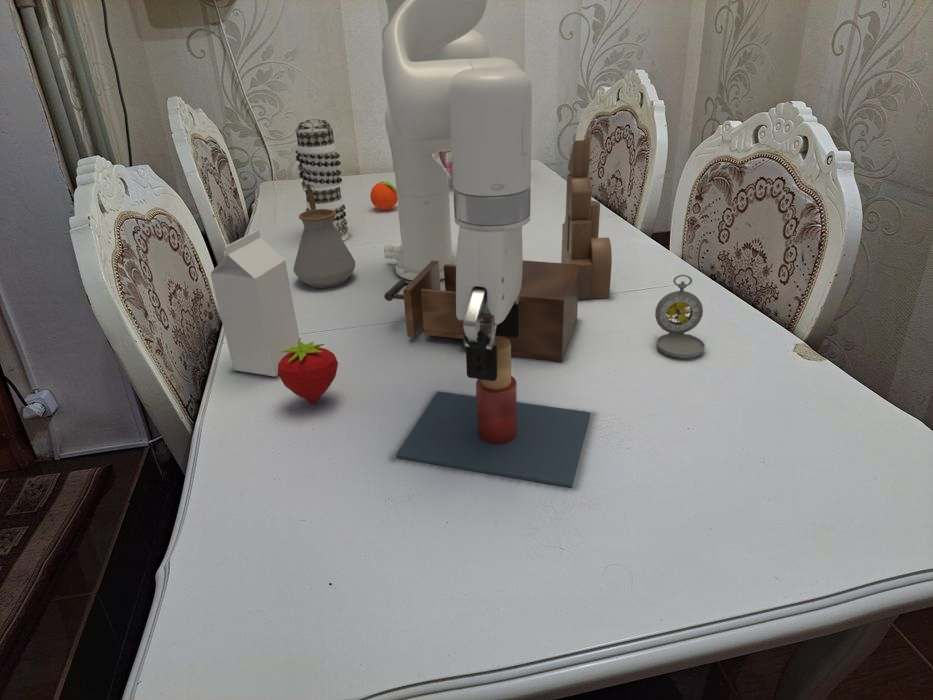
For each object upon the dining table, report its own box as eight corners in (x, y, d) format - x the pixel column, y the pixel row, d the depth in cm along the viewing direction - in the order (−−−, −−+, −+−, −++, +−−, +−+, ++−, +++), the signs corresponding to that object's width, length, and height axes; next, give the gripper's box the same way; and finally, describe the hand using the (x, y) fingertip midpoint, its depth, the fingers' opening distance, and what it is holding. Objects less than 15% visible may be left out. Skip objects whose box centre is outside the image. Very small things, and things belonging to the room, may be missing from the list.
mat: (396, 457, 73) (395, 454, 73) (437, 393, 85) (437, 391, 85) (571, 487, 68) (571, 484, 68) (590, 414, 79) (590, 412, 79)
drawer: (378, 333, 99) (373, 287, 96) (409, 301, 110) (405, 258, 106) (492, 346, 94) (491, 297, 90) (513, 311, 104) (512, 266, 101)
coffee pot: (361, 286, 119) (351, 206, 112) (298, 296, 116) (283, 214, 109) (346, 250, 137) (336, 179, 130) (291, 257, 134) (278, 185, 127)
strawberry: (346, 409, 83) (335, 340, 78) (286, 420, 81) (271, 350, 76) (340, 386, 88) (330, 320, 83) (283, 396, 86) (270, 329, 81)
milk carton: (303, 354, 96) (280, 231, 87) (275, 378, 90) (248, 248, 81) (262, 348, 98) (236, 228, 89) (233, 371, 92) (202, 244, 83)
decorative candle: (300, 242, 143) (280, 124, 131) (323, 229, 150) (307, 117, 138) (335, 246, 139) (318, 125, 128) (357, 233, 147) (343, 118, 135)
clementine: (408, 208, 163) (405, 180, 160) (391, 215, 158) (388, 186, 155) (383, 204, 167) (380, 177, 164) (366, 211, 162) (362, 183, 159)
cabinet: (463, 350, 95) (460, 290, 91) (488, 312, 107) (487, 257, 102) (561, 362, 91) (564, 300, 87) (576, 321, 102) (579, 264, 98)
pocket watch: (679, 365, 89) (687, 298, 84) (638, 341, 96) (644, 278, 91) (722, 350, 92) (733, 285, 88) (679, 328, 99) (687, 266, 94)
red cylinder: (472, 441, 75) (469, 350, 69) (483, 419, 79) (481, 331, 73) (511, 447, 74) (510, 355, 68) (520, 424, 77) (520, 335, 72)
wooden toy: (611, 298, 110) (622, 147, 98) (572, 300, 110) (578, 149, 98) (594, 266, 123) (602, 130, 111) (559, 267, 123) (563, 131, 111)
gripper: (480, 180, 72) (483, 318, 80) (425, 231, 57) (436, 392, 66) (547, 183, 69) (543, 324, 78) (507, 236, 55) (508, 402, 64)
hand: (494, 355), depth 72 cm, fingers open, 9 cm apart
